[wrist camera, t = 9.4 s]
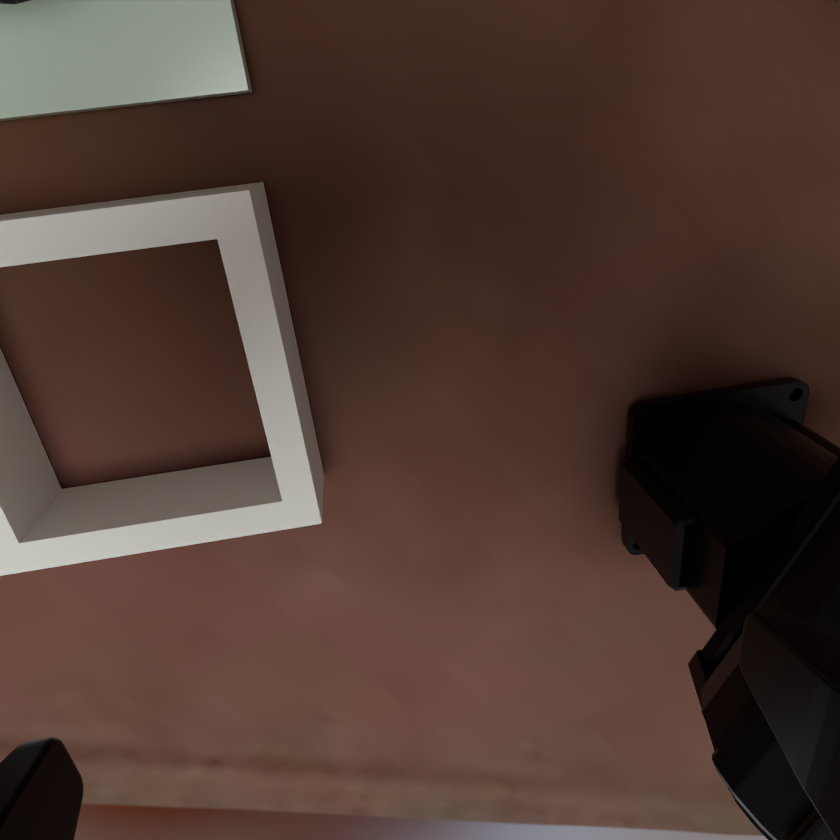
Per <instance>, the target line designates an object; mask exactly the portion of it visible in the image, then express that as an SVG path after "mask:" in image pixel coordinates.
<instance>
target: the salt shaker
mask: <svg viewBox="0 0 840 840" xmlns="http://www.w3.org/2000/svg"><path fill="white" fill-rule="evenodd" d="M26 1H30V0H0V4H19V3H23V2H26Z"/></svg>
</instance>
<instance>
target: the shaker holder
mask: <svg viewBox="0 0 840 840" xmlns="http://www.w3.org/2000/svg"><path fill="white" fill-rule="evenodd" d="M214 239H217V240H218V244H219V248H220V252H221V256H222V260H223V264H224V268H225V272H226V276H227V280H228V284H229V288H230V292H231V297H232V301H233V305H234V309H235V313H236V317H237V321H238V325H239V329H240V333H241V337H242V341H243V345H244V349H245V353H246V357H247V361H248V365H249V369H250V373H251V377H252V381H253V385H254V389H255V393H256V397H257V401H258V405H259V409H260V413H261V417H262V421H263V425H264V429H265V433H266V437H267V442H268V446H269V450H270V454H271V457H265V458H258V459H252V460H245V461H239V462H233V463H226V464H220V465H213V466H207V467H200V468H194V469H187V470H181V471H174V472H168V473H161V474H155V475H148V476H142V477H135V478H129V479H122V480H116V481H109V482H103V483H97V484H90V485H84V486H77V487H71V488H64V489H61V486H60V484H59V482H58V479H57V477H56V475H55V472H54V470H53V468H52V466H51V463H50V461H49V459H48V456H47V454H46V452H45V449H44V447H43V445H42V442H41V440H40V438H39V436H38V433H37V431H36V429H35V426H34V424H33V422H32V419H31V417H30V415H29V413H28V410H27V408H26V406H25V403H24V401H23V399H22V396H21V394H20V392H19V390H18V387H17V385H16V383H15V380H14V378H13V376H12V373H11V371H10V369H9V367H8V364H7V362H6V360H5V357H4V355H3V353H2V350H1V348H0V576H2V575H8V574H14V573H20V572H26V571H32V570H39V569H45V568H51V567H57V566H63V565H69V564H76V563H82V562H88V561H94V560H100V559H106V558H112V557H119V556H125V555H131V554H137V553H143V552H149V551H156V550H162V549H168V548H174V547H180V546H186V545H192V544H199V543H205V542H211V541H217V540H223V539H229V538H235V537H242V536H248V535H254V534H260V533H266V532H272V531H279V530H285V529H291V528H297V527H303V526H309V525H315V524H322V509H323V484H324V472H323V467H322V463H321V458H320V453H319V448H318V443H317V439H316V434H315V429H314V424H313V419H312V414H311V410H310V405H309V400H308V395H307V390H306V386H305V381H304V376H303V371H302V366H301V361H300V357H299V352H298V347H297V342H296V337H295V333H294V328H293V323H292V318H291V313H290V308H289V304H288V299H287V294H286V289H285V284H284V280H283V275H282V270H281V265H280V260H279V255H278V251H277V246H276V241H275V236H274V231H273V227H272V222H271V217H270V212H269V207H268V202H267V198H266V193H265V188H264V183H263V182H258V183H250V184H242V185H234V186H226V187H218V188H210V189H202V190H194V191H186V192H178V193H170V194H162V195H154V196H146V197H138V198H129V199H121V200H113V201H105V202H97V203H89V204H81V205H73V206H65V207H57V208H49V209H41V210H33V211H25V212H17V213H9V214H1V215H0V267H7V266H14V265H22V264H30V263H37V262H45V261H53V260H60V259H68V258H76V257H83V256H91V255H99V254H107V253H114V252H122V251H130V250H137V249H145V248H153V247H160V246H168V245H176V244H183V243H191V242H199V241H206V240H214Z"/></svg>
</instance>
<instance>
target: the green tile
mask: <svg viewBox="0 0 840 840" xmlns="http://www.w3.org/2000/svg"><path fill="white" fill-rule="evenodd" d="M243 93H252V88H251V83H250V78H249V73H248V68H247V63H246V58H245V53H244V48H243V43H242V38H241V34H240V29H239V24H238V19H237V14H236V9H235V4H234V0H30V1H26V2H23V3H19V4H0V121H8V120H17V119H25V118H34V117H43V116H52V115H60V114H69V113H78V112H86V111H95V110H104V109H113V108H121V107H130V106H139V105H147V104H156V103H165V102H174V101H182V100H191V99H200V98H208V97H217V96H226V95H235V94H243Z"/></svg>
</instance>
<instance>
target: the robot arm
mask: <svg viewBox="0 0 840 840" xmlns="http://www.w3.org/2000/svg"><path fill="white" fill-rule="evenodd" d="M793 389H795V391H794V393H793V394H792V395H791V396H789V394H790V392H791V391H792V390H793ZM808 396H809V387H808V385H807V384H806V383H804V382H802V381H800V380H798V379H797V378H785V379H779V380H772V381H766V382H759V383H753V384H746V385H740V386H733V387H727V388H720V389H714V390H707V391H701V392H694V393H688V394H682V395H675V396H669V397H662V398H656V399H649V400H643V401H640V402H637V403H636V404H634V405H633V406H632V408H631V409H630V411H629V415H628V433H627V454H626V458H625V459H624V461H623V463H622V464H621V477H620V500H619V520H620V521H621V522H622V524H623V539H622V541H623V545H624V546H625V547H626V549H627V550H628V551H629V553H631V554H633V555H640V554H645V555H646V556H647V558H648V559H649V560H650V562H651V563H652V564H653V566H654V567H655V568H656V570H657V571H658V572H659V574H660V575H661V577H662V578H663V579H664V581H665V582H666V583H667V585H668V586H670V587H671V588H672V589H674V590H675V591H678V590H684V589H686V591H687V592H688V593H689V594H690V596H691V597H692V598H693V600H694V601H695V602H696V604H697V605H698V606H699V607H700V609H701V610H702V611H703V613H704V614H705V615H706V617H707V618H708V619H709V620H710V622H711V623H712V624H713V626H714V627H715V628H716V631H715V632H714V634H713V635H712V637H711V638H710V639H709V641H708V642H707V644H706V645H705V646H704V648H703V649H702V650H698V651H697V652H696V653H695V654H694V656H693V657H692V659H691V660H690V662H689V663H688V666H689V669H690V672H691V676H692V679H693V682H694V685H695V689H696V692H697V695H698V698H699V702H700V705H701V708H702V714H703V716H704V719H705V721H706V724H707V728H708V731H709V734H710V737H711V741H712V744H713V747H714V750H715V752H714V753H713V754H712V760H713V763H714V765H715V768H716V770H717V772H718V774H719V775H720V777H721V778H722V780H723V781H724V782H725V784H726V785H727V787H728V789H729V791H730V792H731V794H732V796H733V797H734V799H735V801H736V803H737V804H738V806H739V807H740V808H741V809H742V811H743V812H744V813H745V814H746V816H747V817H748V818H749V820H750V821H751V822H752V823H753V824H754V826H755V827H756V828H757V829H758V830H759V831H760V832H761V833H762V834H763V835H764V836H765V837H766V838H767V839H768V840H840V448H839V447H838V446H836V445H835V444H833V443H831V442H830V441H828V440H826V439H825V438H823V437H822V436H820V435H818V434H817V433H815V432H813V431H812V430H810V429H809V428H807V427H805V426H804V425H803V422H804V417H805V411H806V406H807V401H808ZM647 411H649V413H648V416H647V417H646V418H645V419H642V420H640V417H641V415H642V414H643V413H644V412H647ZM635 541H636V543H635V544H634V542H635ZM82 798H83V782H82V778H81V775H80V773H79V771H78V769H77V768H76V766H75V764H74V762H73V760H72V759H71V757H70V755H69V753H68V751H67V749H66V748H65V746H64V744H63V743H62V741H61V740H59V739H57V738H54V737H51V738H45V739H40V740H34V741H29V742H25V743H23V744H21V745H19V746H18V747H16V748H15V749H14V750H13V751H12V752H11V753H10V754H9V755H8V756H7V757H6V758H5V759H4V760H3V761H2V762H1V763H0V840H74V837H75V832H76V827H77V822H78V818H79V813H80V808H81V803H82Z"/></svg>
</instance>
